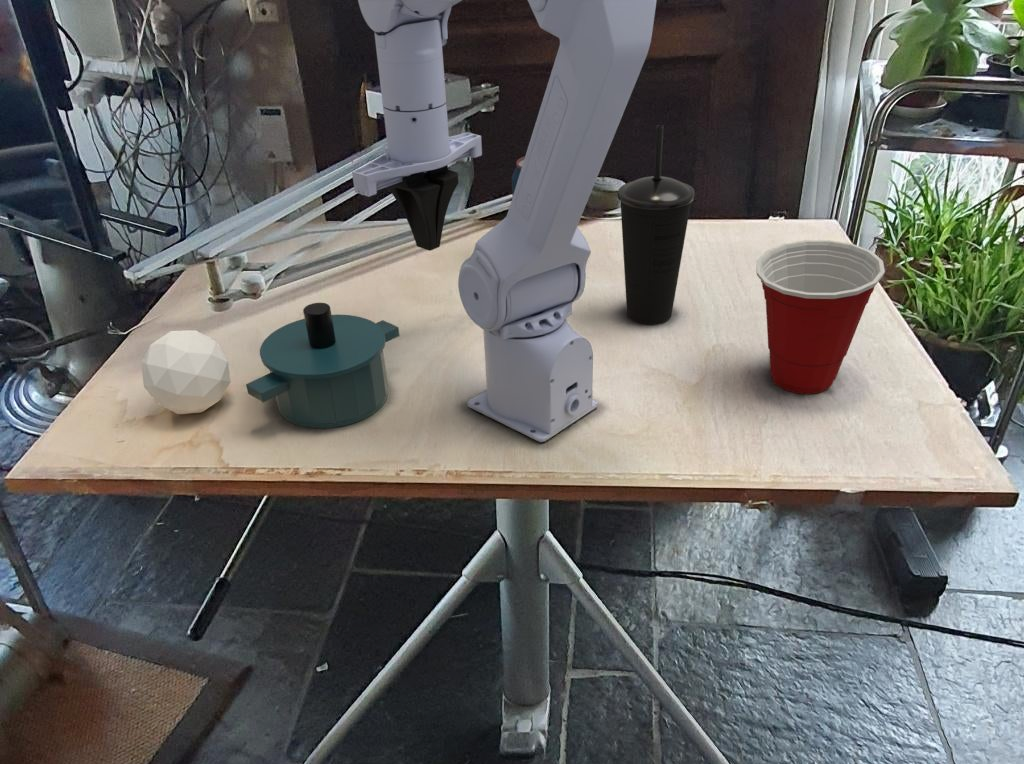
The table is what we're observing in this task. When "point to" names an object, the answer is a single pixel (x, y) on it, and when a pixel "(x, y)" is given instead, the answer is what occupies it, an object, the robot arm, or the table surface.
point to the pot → (329, 393)
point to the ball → (185, 371)
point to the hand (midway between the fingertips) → (428, 246)
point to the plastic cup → (814, 308)
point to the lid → (322, 345)
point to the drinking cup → (653, 240)
